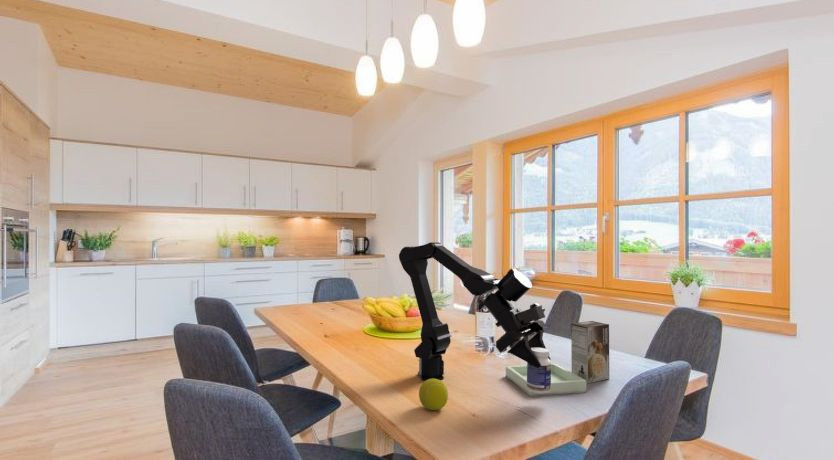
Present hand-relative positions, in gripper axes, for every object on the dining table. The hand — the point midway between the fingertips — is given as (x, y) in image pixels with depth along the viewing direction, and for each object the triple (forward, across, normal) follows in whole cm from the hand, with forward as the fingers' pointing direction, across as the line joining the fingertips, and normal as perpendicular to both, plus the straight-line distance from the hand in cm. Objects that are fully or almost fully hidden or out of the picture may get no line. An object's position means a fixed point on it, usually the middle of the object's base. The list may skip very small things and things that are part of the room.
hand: (544, 364), depth 105 cm
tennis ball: (-6, -18, +22) cm, 29 cm away
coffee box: (+9, +30, +6) cm, 31 cm away
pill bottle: (+4, 0, +6) cm, 7 cm away
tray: (+3, +16, +12) cm, 20 cm away
